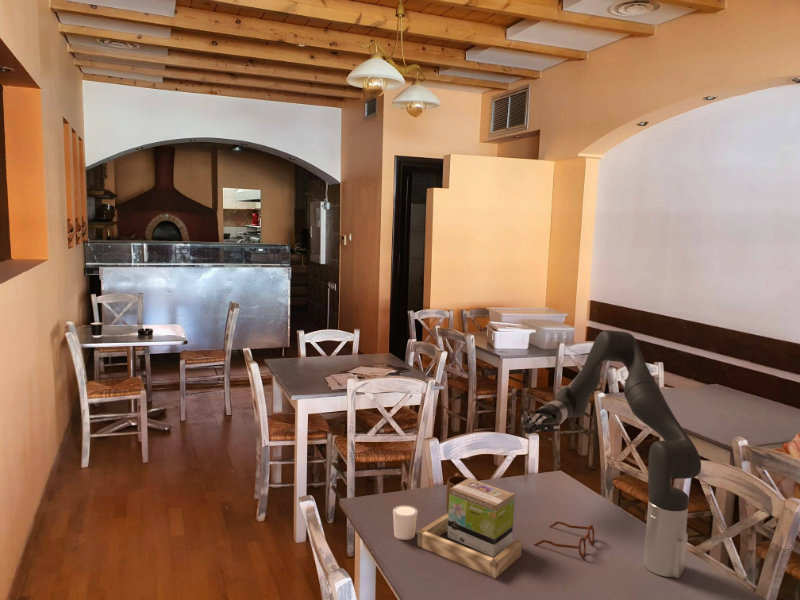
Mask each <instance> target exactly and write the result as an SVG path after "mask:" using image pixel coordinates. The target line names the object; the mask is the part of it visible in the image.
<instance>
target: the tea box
mask: <svg viewBox="0 0 800 600" xmlns="http://www.w3.org/2000/svg"><path fill="white" fill-rule="evenodd" d="M467 478H468V479H466V480H464V481H463V482H461V483H459V484H457V485H456V486H454V487H452V488H450V495H449V512H448V513H447V514H448V531H447V539H448V538H449V539H451V540H453V541H456V542H459V543H461V544H463V545H466V546H468V547H470V548H471V549H473V550H475V551H477V552H480V553H482V554H484V555H487V556H489V557H492V558H494V557H496V556H497V555H498V554H499V553H501V552H502V551H503V550H504V549H506V548H507V547H508V546H509V545H510V544H512V543H513V541H512V540H513V528H514V515H515V514H514V513H515V512H514V511H515V499H516V498H515V497H516V494H515V493H513V492H510V491H507V490H505V489H501V488H500V487H497V486H493V485H491V484H488V483H485V482H482V481H479V480H476V479H473V478H471V477H467Z"/></svg>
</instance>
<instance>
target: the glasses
mask: <svg viewBox="0 0 800 600" xmlns="http://www.w3.org/2000/svg"><path fill="white" fill-rule="evenodd" d="M558 524H559V525H563V526H565V527H567V528H569V529H570V528H571V529H581V530H587V534H585V536H584V537H580V539H579V542H578V545H571V544H563V543H555V542H554V541H552V540H546V539H542V540H540V541H538V542H536V543H534V544H533V546H536V547H537V546H539V545H541V544H543V543H546V544H550V545H552V546H554V547H559V548H565V549H566V548H567V549H569V548H570V549H578V553H579V556H580V558H584V557H585V556H586V550H587V549H586V548H587V544H586V543H587V542H586V541H587V539H588V543H589V544H593V543H594V541H595V529H594V528H595V527H594V525H593V524H590V525H589V526H583V525H582V526H581V525H572V524H568V523H566V522H563V521H555V522H554V523H552V524H551V525H549V526H548V528H551V529H552V528H553V527H555V526H556V525H558ZM591 531H592V533H591ZM590 533H591V535H592V537H591V536H590ZM591 538H592V539H591ZM582 543H583V553H582ZM584 555H585V556H584Z"/></svg>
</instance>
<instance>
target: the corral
mask: <svg viewBox="0 0 800 600" xmlns="http://www.w3.org/2000/svg"><path fill="white" fill-rule="evenodd" d="M448 514H449V513H445V514H444V515H442V516H440V517H439V518H437V519H436V520H434V521H432V522H431V523H429V524H428V525H426V526H425V527H423V528H421V529H420V530H418V531H417V542H416V544H417V547H420V548H421V549H424V550H426V551H429V552H432V553H434V554H436V555H439V556H440V557H443V558H446V559H448V560H450V561H453V562H456V563H458V564H459V565H460V564H461V565H462V566H465V567H466V568H468V569H469V568H470V569H472V570H475V571H477V572H478V573H481V574H484V575H487V576H489V577H491V578H494V579H496V578H498V576H499V575H501V574H502V573H503V572H504V571H505V570H507V569H508V568H509V567H510V566H511V565H512V564H514V563H515V562H516V561H517V560H518V559H519V558H520V557H522V547H523V541H522V540H520V539H516V540H514V541H512V543H511V544H510V545H509V546H507V547H506V548H505V549H503V550H502V551H501V552H499V553H498V554H497V555H495V556H494V557H491V556H489V555H487V554H485V553H483V552H480V551H478V550H475V549H473V548H468V547H466V546H464V545H461V544H459V543H457V542H454V541H451V540H449V539H446V538H443V537H441V536H443V534H445V533H446V532H448Z"/></svg>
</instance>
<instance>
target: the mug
mask: <svg viewBox="0 0 800 600" xmlns="http://www.w3.org/2000/svg"><path fill="white" fill-rule="evenodd" d="M468 478H469V477H466V476H462V475H461V474H460V473H459V472H456V473H455V474H454V475H453V476H449V478H447V483H446V499H445V500H446V501H445V507H446V508H445V509H446V511H447V512H448V513H449V495H450V488H452V487H454V486H456V485H457V484H459V483H461V482H463V481H464V480H466V479H468Z"/></svg>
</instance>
